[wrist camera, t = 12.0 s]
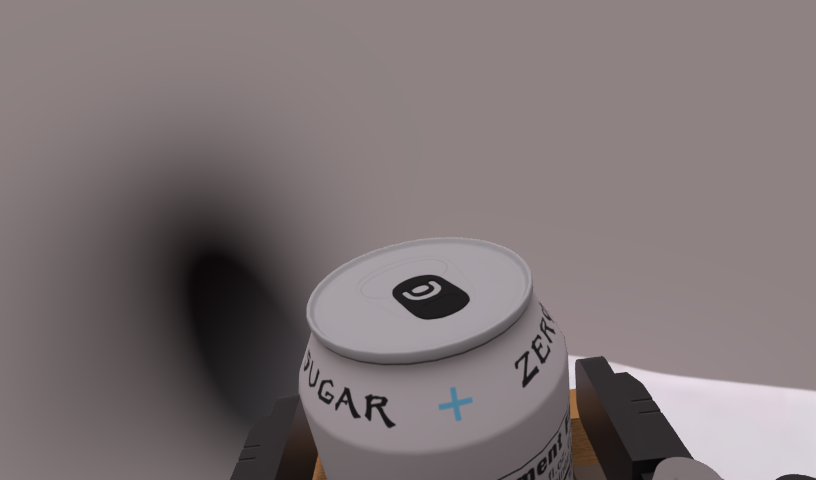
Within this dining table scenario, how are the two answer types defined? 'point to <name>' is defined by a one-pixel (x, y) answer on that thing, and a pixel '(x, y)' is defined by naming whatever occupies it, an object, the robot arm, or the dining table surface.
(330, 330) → the energy drink can
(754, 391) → the dining table surface
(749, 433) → the dining table surface
